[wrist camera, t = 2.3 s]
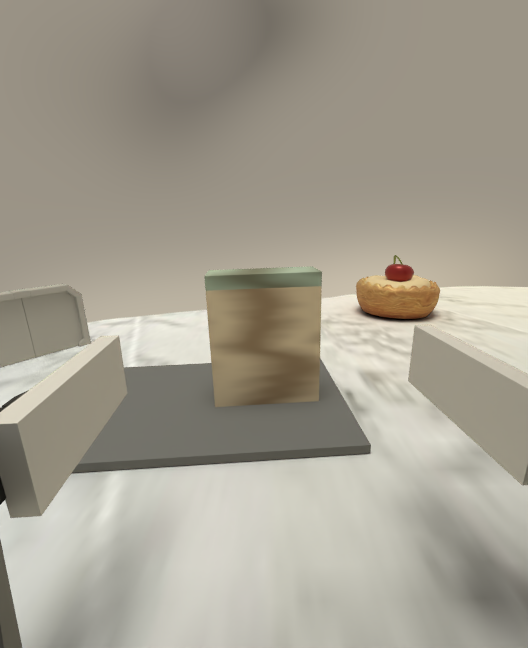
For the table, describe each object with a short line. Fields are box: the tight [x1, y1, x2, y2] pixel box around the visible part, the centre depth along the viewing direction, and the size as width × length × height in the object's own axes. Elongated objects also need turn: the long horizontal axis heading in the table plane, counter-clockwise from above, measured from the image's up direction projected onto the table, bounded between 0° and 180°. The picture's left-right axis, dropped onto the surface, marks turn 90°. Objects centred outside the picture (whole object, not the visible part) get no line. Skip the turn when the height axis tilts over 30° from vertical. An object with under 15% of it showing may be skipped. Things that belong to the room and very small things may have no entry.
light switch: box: [0, 284, 91, 367], centre depth 37 cm, size 2×12×8 cm, turn 142°
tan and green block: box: [205, 267, 322, 407], centre depth 25 cm, size 8×3×10 cm, turn 93°
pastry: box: [356, 255, 440, 319], centre depth 50 cm, size 12×12×9 cm
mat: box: [72, 359, 371, 473], centre depth 26 cm, size 24×14×1 cm, turn 93°
